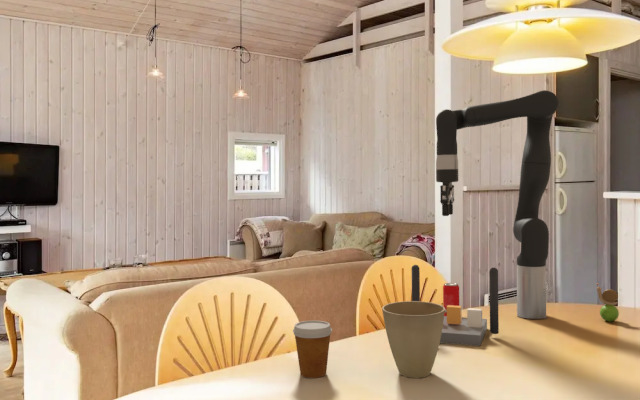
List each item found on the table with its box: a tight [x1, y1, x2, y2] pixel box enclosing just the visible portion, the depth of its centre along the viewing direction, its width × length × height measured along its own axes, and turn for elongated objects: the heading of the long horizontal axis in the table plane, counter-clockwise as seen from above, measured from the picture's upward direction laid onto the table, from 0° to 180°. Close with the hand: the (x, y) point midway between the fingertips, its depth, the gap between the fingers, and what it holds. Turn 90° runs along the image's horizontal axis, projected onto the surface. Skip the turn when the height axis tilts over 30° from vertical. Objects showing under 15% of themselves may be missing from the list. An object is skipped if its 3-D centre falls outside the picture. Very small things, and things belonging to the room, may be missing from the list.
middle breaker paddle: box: [447, 305, 463, 324], centre depth 173 cm, size 4×2×5 cm, turn 69°
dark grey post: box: [488, 267, 500, 335], centre depth 169 cm, size 2×2×19 cm
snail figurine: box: [596, 282, 620, 322], centre depth 186 cm, size 5×6×12 cm
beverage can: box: [442, 282, 460, 316], centre depth 191 cm, size 5×5×12 cm
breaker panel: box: [439, 307, 488, 347], centre depth 173 cm, size 17×20×8 cm
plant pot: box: [381, 300, 445, 379], centre depth 139 cm, size 15×15×16 cm
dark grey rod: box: [411, 264, 421, 301], centre depth 177 cm, size 2×2×19 cm
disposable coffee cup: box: [292, 320, 333, 379], centre depth 140 cm, size 10×10×12 cm
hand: (447, 215), depth 201 cm, fingers open, 8 cm apart
